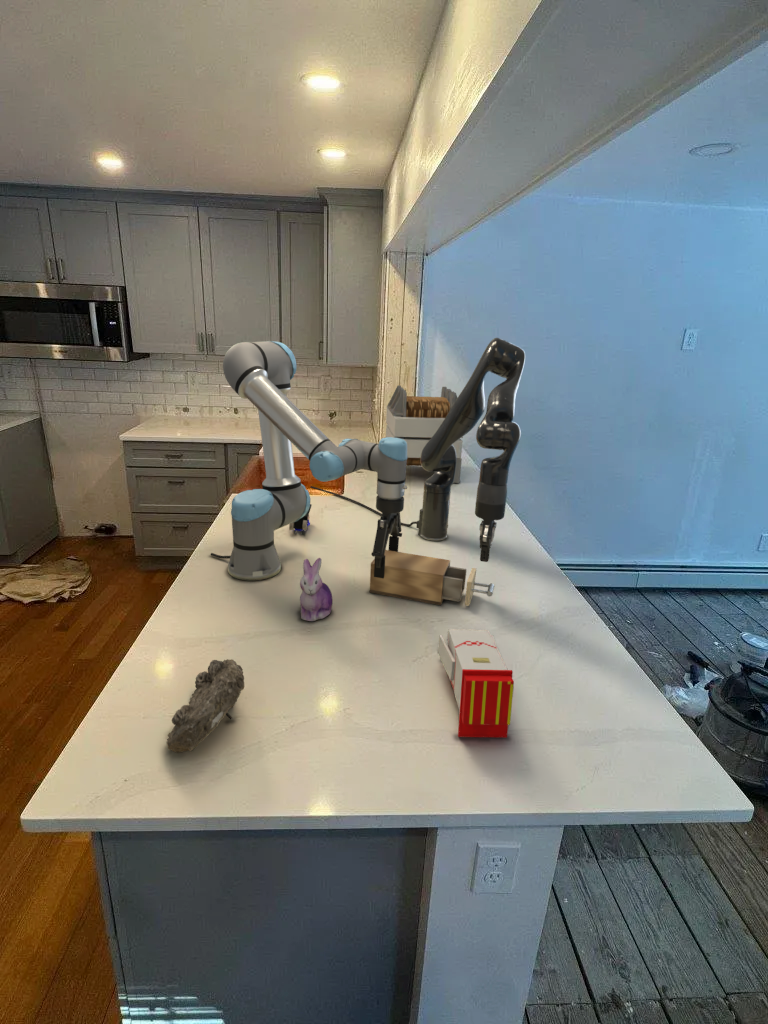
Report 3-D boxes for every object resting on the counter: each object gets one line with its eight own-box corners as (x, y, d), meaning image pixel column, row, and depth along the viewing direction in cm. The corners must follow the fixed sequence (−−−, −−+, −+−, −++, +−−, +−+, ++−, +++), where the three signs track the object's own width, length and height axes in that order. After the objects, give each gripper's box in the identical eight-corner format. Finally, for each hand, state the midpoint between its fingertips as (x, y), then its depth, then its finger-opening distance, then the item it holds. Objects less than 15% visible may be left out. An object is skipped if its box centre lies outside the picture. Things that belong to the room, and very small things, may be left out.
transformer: (382, 463, 289) (386, 382, 275) (445, 464, 293) (451, 384, 279) (390, 482, 257) (394, 392, 243) (460, 483, 261) (468, 394, 247)
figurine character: (308, 540, 194) (312, 520, 207) (307, 521, 190) (312, 501, 204) (288, 540, 194) (294, 519, 207) (287, 520, 190) (293, 501, 204)
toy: (488, 613, 130) (523, 677, 101) (484, 667, 133) (517, 744, 104) (435, 612, 130) (455, 676, 101) (432, 666, 133) (451, 743, 103)
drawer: (493, 594, 158) (496, 571, 155) (490, 610, 150) (492, 586, 147) (408, 579, 164) (410, 557, 162) (400, 593, 156) (401, 570, 154)
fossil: (192, 660, 117) (244, 628, 112) (224, 691, 120) (276, 661, 115) (142, 746, 98) (202, 712, 93) (182, 779, 101) (242, 748, 96)
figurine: (305, 626, 140) (305, 571, 134) (291, 607, 148) (291, 554, 143) (340, 618, 144) (341, 564, 139) (325, 600, 152) (325, 549, 147)
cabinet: (447, 588, 162) (450, 560, 159) (440, 605, 153) (443, 575, 150) (380, 577, 167) (381, 549, 164) (369, 592, 158) (370, 563, 155)
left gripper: (390, 512, 140) (386, 588, 148) (415, 485, 163) (410, 552, 170) (362, 508, 142) (359, 583, 150) (390, 481, 165) (386, 548, 172)
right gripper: (503, 508, 138) (495, 573, 144) (508, 493, 150) (501, 553, 156) (472, 504, 140) (466, 568, 146) (480, 489, 152) (473, 549, 157)
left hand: (386, 567), depth 160 cm, fingers open, 13 cm apart
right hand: (484, 560), depth 151 cm, fingers closed
